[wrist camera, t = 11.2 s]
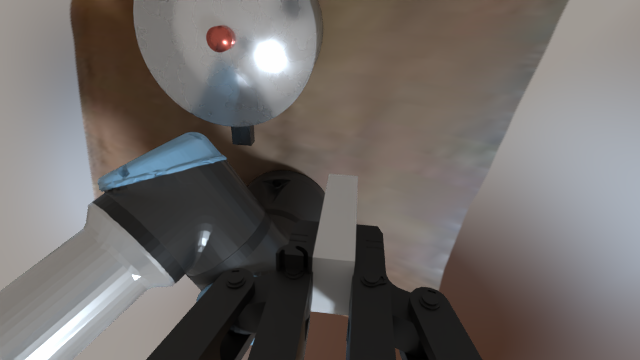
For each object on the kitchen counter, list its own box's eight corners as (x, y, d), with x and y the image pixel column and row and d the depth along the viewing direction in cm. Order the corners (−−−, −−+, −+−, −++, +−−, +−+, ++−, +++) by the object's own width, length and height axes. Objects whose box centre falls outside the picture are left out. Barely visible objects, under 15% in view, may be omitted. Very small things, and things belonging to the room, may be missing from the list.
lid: (319, 124, 40) (314, 139, 36) (163, 121, 42) (141, 135, 38) (314, -161, 28) (305, -188, 24) (101, -147, 30) (58, -169, 26)
